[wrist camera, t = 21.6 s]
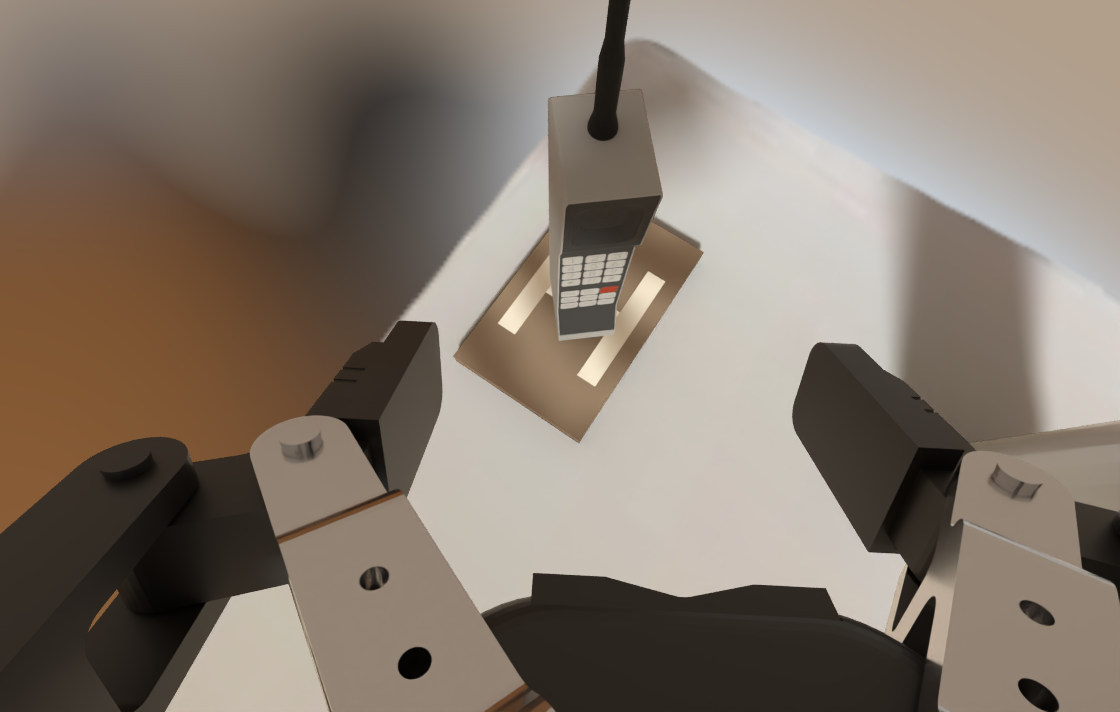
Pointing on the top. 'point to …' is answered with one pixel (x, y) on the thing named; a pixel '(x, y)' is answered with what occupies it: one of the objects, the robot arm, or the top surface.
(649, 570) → the top surface
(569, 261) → the vintage mobile phone
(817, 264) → the top surface
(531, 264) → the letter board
